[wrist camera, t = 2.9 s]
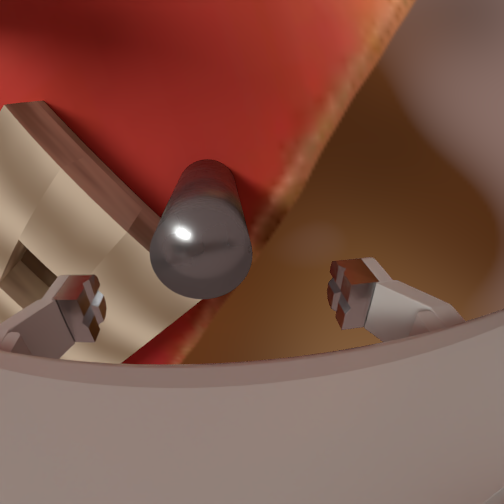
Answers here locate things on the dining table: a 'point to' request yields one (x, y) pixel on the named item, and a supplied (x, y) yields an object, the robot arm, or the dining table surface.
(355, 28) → the dining table surface
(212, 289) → the pin
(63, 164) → the socket block
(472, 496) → the robot arm
